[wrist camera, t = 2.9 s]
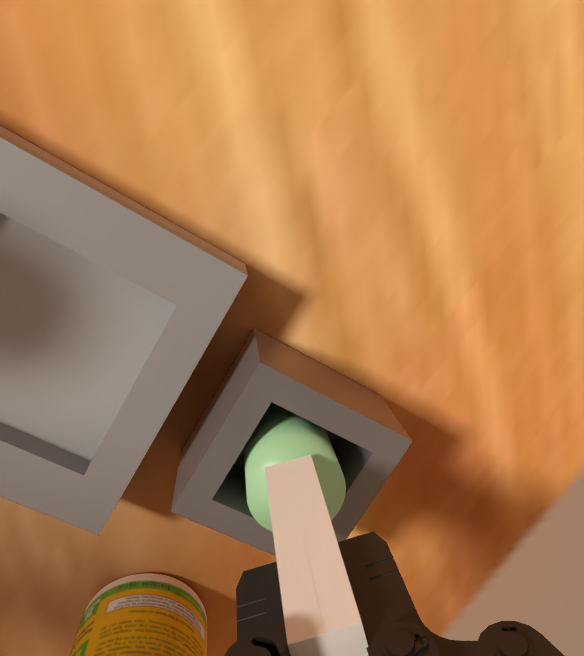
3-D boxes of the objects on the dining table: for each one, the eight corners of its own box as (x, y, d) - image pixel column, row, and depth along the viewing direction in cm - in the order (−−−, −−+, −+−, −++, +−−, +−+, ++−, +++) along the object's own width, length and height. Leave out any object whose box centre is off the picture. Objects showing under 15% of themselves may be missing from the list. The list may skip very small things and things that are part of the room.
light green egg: (227, 451, 21) (228, 512, 17) (268, 383, 20) (278, 431, 16) (297, 483, 22) (313, 549, 18) (339, 419, 21) (364, 472, 17)
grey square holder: (180, 452, 22) (170, 511, 18) (253, 327, 21) (260, 362, 17) (305, 509, 23) (321, 575, 19) (380, 395, 22) (412, 441, 18)
